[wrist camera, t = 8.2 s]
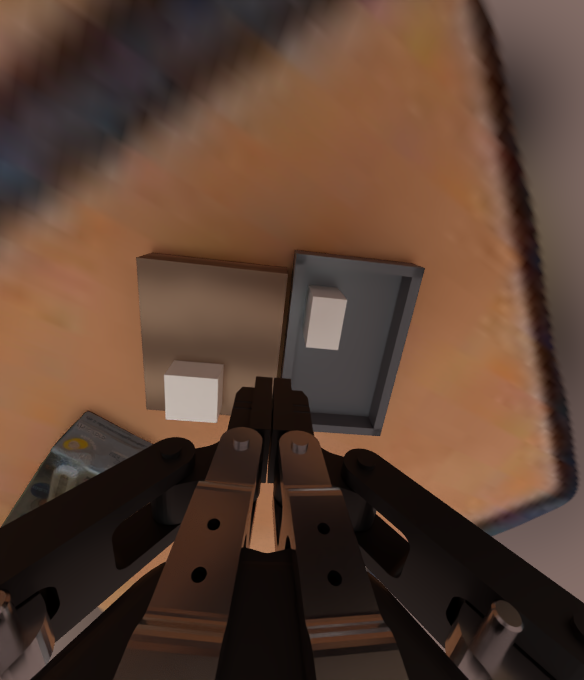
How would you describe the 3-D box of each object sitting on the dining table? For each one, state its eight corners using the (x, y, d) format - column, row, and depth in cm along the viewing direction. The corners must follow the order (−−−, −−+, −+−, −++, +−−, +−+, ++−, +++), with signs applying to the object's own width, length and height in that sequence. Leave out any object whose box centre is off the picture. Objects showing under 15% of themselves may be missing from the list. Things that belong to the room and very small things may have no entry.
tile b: (174, 360, 26) (163, 374, 23) (223, 364, 26) (218, 379, 24) (175, 401, 27) (165, 419, 25) (222, 405, 27) (216, 422, 25)
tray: (294, 249, 26) (296, 253, 23) (412, 263, 26) (424, 268, 24) (276, 413, 31) (276, 428, 29) (372, 420, 32) (379, 436, 30)
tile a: (313, 296, 22) (347, 299, 23) (308, 284, 26) (337, 288, 26) (305, 347, 24) (337, 350, 24) (302, 329, 28) (330, 332, 28)
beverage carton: (161, 444, 33) (134, 497, 27) (82, 546, 38) (44, 610, 32) (88, 406, 31) (41, 453, 25) (15, 519, 36) (-39, 582, 30)
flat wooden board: (152, 252, 25) (136, 257, 22) (286, 267, 26) (287, 273, 23) (158, 391, 30) (146, 409, 27) (272, 400, 31) (272, 418, 28)
